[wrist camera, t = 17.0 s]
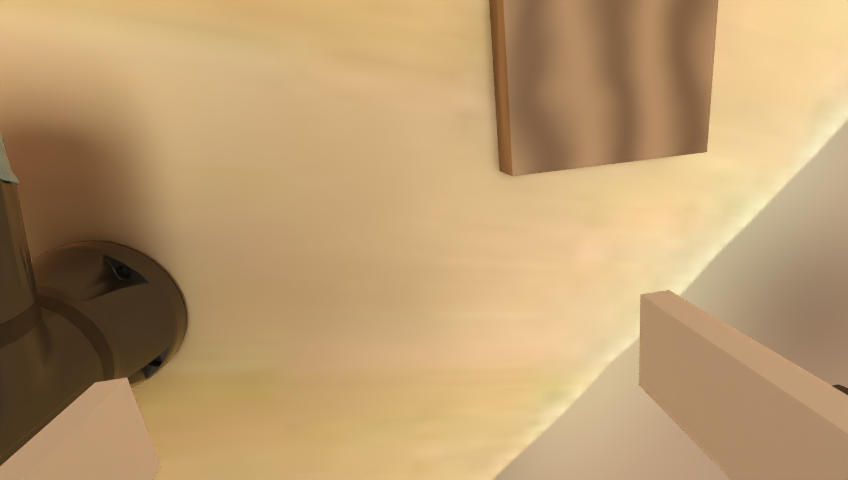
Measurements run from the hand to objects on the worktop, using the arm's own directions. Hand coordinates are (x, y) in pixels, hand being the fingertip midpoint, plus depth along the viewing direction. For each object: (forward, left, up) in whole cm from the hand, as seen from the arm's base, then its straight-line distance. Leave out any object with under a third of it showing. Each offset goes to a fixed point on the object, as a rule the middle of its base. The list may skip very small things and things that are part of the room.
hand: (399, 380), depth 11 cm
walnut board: (+20, +10, -32) cm, 39 cm away
